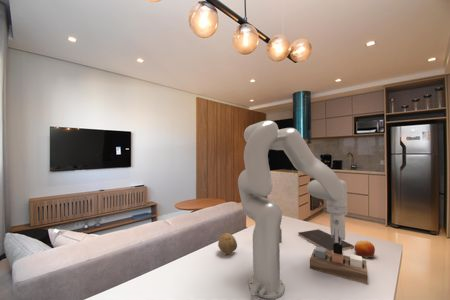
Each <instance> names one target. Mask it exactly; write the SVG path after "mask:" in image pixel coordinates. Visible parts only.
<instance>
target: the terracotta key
mask: <svg viewBox="0 0 450 300" xmlns="http://www.w3.org/2000/svg"><path fill="white" fill-rule="evenodd" d="M343 255H344V252H343V251H342V255H341V254H336V253H334V252H333V250H332V261H333V262H337V263H341V264H343Z"/></svg>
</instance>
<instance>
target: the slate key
mask: <svg viewBox="0 0 450 300" xmlns="http://www.w3.org/2000/svg"><path fill="white" fill-rule="evenodd" d="M314 249H315V257H317V258H321V259H325V258H326V249H325V248H321V247H318V246H315V248H314Z"/></svg>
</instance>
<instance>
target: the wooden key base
mask: <svg viewBox="0 0 450 300" xmlns="http://www.w3.org/2000/svg"><path fill="white" fill-rule="evenodd" d="M309 270H315V271H319V272H322V273H325V274H329V275H333V276H335V277H340V278H344V279H347V280H350V281H355V282H357V283H360V284H363V285H364V284H365V285H368V284H369V278H368V276H369V274H368V266H367V260H366V259H363V258H362V269H361V268H357V267H353V266H350V255H349V256H348V255H345V254H343V264H341V263H337V262H333V261H332V252H327V251H326V258H325V259H321V258H317V257H315V248H313V251H312V253H311V255H310V257H309Z"/></svg>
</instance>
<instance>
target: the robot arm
mask: <svg viewBox="0 0 450 300" xmlns="http://www.w3.org/2000/svg"><path fill="white" fill-rule="evenodd" d="M278 126H279V125H278V124H277V123H276V122H275V121H273V120H263V121H262V120H261V121H260V122H256V123H254V124H251V125H249V126H247V127H246V128H245V130H244V133H243V138H244V140H245V142H246V143H245V146H244V150H243V160H244V161H243V162H244V169H243V170H242V171H241V172H240V174H239V176H238V180H237V185H238V187H237V188H238V193H239V196H240V202H241V207H242V210H243V212H244V214H245V215H246V216H247V217H248V218H249V219H251V220H252V221H253V222H254V223H255V225H254V228H253V233H252V276H251V277H250V279H249V281H248V286H249V289H250V290H249V294H250V295H251V296H255V295H256V296H257V297H260V298H262V299H268V300H271V299H277V298H279V297H281V296H283V294H284V293H285V291H286V290H285V284H284V282H283V280H282V279H281V263H280V262H281V261H280V259H281V258H280V257H281V256H280V255H281V254H280V243H279V234H280V227H281V224H282V220H283V218H282V217H283V214H282V209H281V207H280V205H278V203H277V202H275V201H273V200H272V199H268V198H266V197H267V196H269V195H270V194H271V192H272V191H273V180H272V175H271V169H270V164H269V157H268V155H269V151H270V150H275V151H283V152H284V154H285V155H286V156H287V157H288V159H289V161H290V162H291V164H292V165H293V167H294V168H295V169H296V170H297V171H299V172H300V173H303V174H304V175H306V176H309V177H311V178H312V179H313V180H311V181H309V182H308V184H307V189H306V190H307V193H308V194H309V195H310V196H312V197H314V198H316V199H320V200H326V212H327V214H329V222H330V223H329V227H330V228H329V229H330V235H331V237H332V238H333V239H334V242H333V252H334V253H336V254H341V255H342V252H343V251H342V244H341V243H342V240H343V241H345V240H346V218H345V217H346V216H347V215H348V192H347V191H348V187H347V182H346V181H345V180H343V179H340V178H339V177H338V175H337V174H336V173H335V172H334V171H333V170H332V169H331V168H330V167H329V166H327V165H326V164H325V163H324V162H322V161H321V160H320V159H318V158H317V157H316V156H315V155H314V154H313V152H312V150H311V149H310V148H309V146H308V144H307V142H306V141H305V140H304V138H303V136H302V135H301V133H300V132H299V130H297V129H296V128H294V127H286V128H281V129H279V127H278Z"/></svg>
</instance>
